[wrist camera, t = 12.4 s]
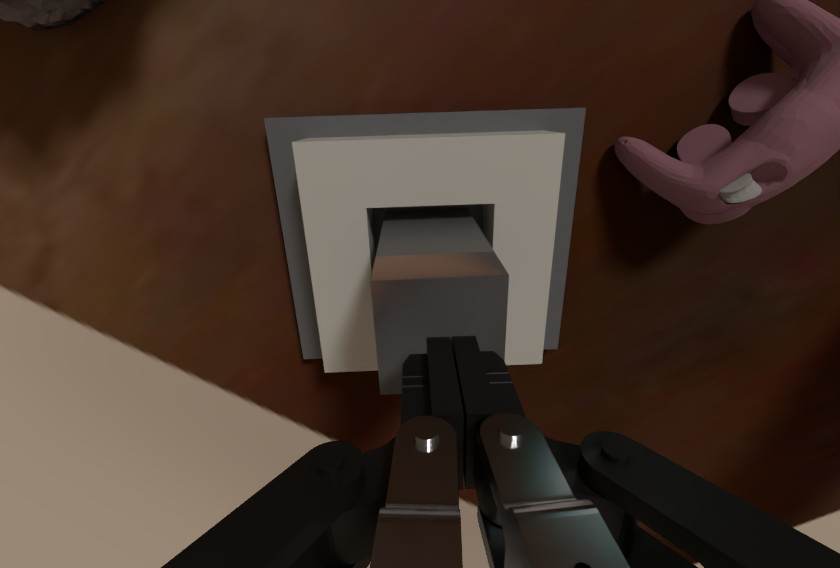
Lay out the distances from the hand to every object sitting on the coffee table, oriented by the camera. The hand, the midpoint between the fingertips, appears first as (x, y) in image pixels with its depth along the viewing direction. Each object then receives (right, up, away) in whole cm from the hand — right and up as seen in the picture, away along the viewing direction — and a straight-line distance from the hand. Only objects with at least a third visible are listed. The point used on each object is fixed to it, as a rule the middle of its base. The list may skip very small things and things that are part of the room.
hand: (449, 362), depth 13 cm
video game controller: (+14, +11, +9) cm, 21 cm away
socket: (0, +5, +11) cm, 12 cm away
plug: (-1, +4, +10) cm, 11 cm away
